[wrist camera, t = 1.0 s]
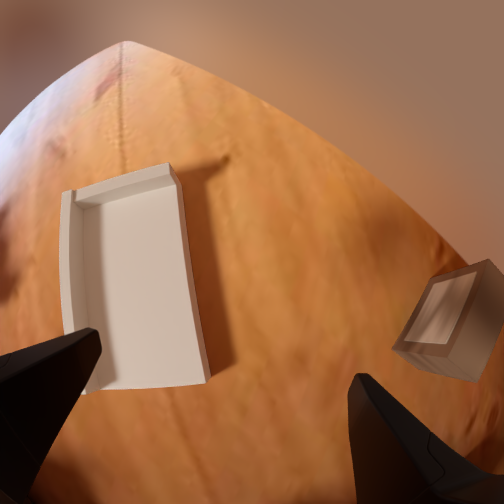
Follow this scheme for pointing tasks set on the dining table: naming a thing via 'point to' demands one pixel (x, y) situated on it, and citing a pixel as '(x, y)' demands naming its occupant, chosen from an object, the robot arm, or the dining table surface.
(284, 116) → the dining table surface
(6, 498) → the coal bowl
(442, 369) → the grey brown rectangular block
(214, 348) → the dining table surface
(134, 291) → the ledge
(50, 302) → the dining table surface
